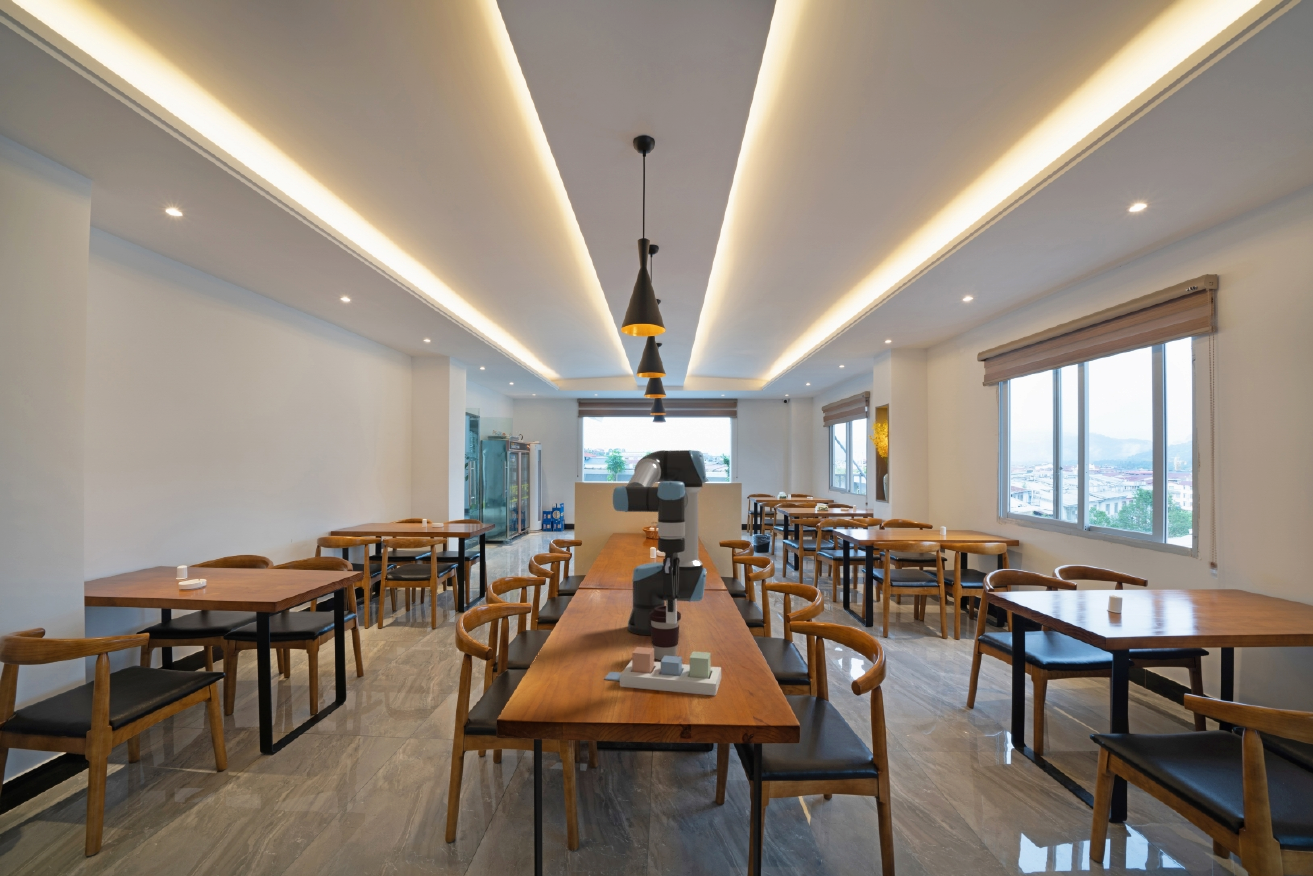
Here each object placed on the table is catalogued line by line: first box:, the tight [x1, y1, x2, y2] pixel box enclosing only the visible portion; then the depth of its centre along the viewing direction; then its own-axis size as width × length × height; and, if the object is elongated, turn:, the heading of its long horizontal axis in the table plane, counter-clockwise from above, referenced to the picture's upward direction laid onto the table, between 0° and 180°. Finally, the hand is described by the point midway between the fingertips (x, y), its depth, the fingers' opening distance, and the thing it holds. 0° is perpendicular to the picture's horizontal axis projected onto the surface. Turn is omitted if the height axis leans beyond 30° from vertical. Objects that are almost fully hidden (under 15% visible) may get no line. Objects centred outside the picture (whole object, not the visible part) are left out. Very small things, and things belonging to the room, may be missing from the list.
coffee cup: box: [649, 605, 682, 661], centre depth 175 cm, size 10×10×15 cm
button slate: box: [660, 656, 683, 676], centre depth 155 cm, size 5×5×5 cm
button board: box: [619, 659, 722, 697], centre depth 155 cm, size 12×26×3 cm, turn 77°
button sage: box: [689, 651, 712, 679], centre depth 153 cm, size 5×5×5 cm
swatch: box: [604, 671, 622, 682], centre depth 158 cm, size 5×5×1 cm
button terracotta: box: [631, 646, 655, 673], centre depth 157 cm, size 5×5×5 cm
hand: (671, 622), depth 156 cm, fingers closed
